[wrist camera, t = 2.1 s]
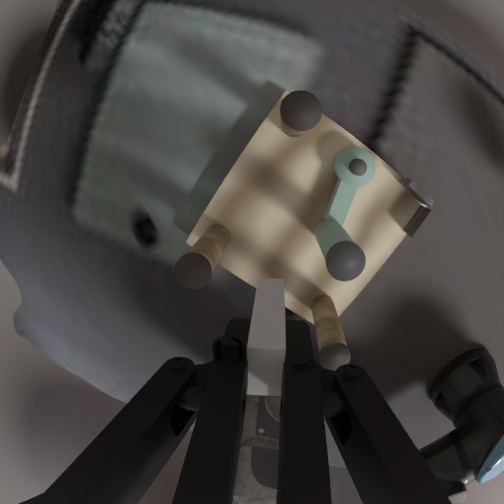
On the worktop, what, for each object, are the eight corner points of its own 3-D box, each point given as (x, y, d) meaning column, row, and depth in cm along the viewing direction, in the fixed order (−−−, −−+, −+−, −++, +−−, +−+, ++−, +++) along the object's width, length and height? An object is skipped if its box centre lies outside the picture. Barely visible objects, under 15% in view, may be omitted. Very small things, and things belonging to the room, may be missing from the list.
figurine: (244, 343, 44) (215, 491, 20) (327, 369, 44) (346, 508, 20) (226, 383, 47) (195, 513, 23) (301, 405, 47) (304, 530, 24)
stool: (420, 199, 34) (478, 224, 21) (323, 321, 41) (336, 387, 28) (285, 93, 32) (289, 60, 19) (191, 236, 39) (150, 278, 26)
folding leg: (340, 140, 30) (368, 136, 20) (375, 156, 30) (414, 159, 20) (304, 236, 34) (314, 272, 24) (338, 248, 34) (360, 288, 24)
